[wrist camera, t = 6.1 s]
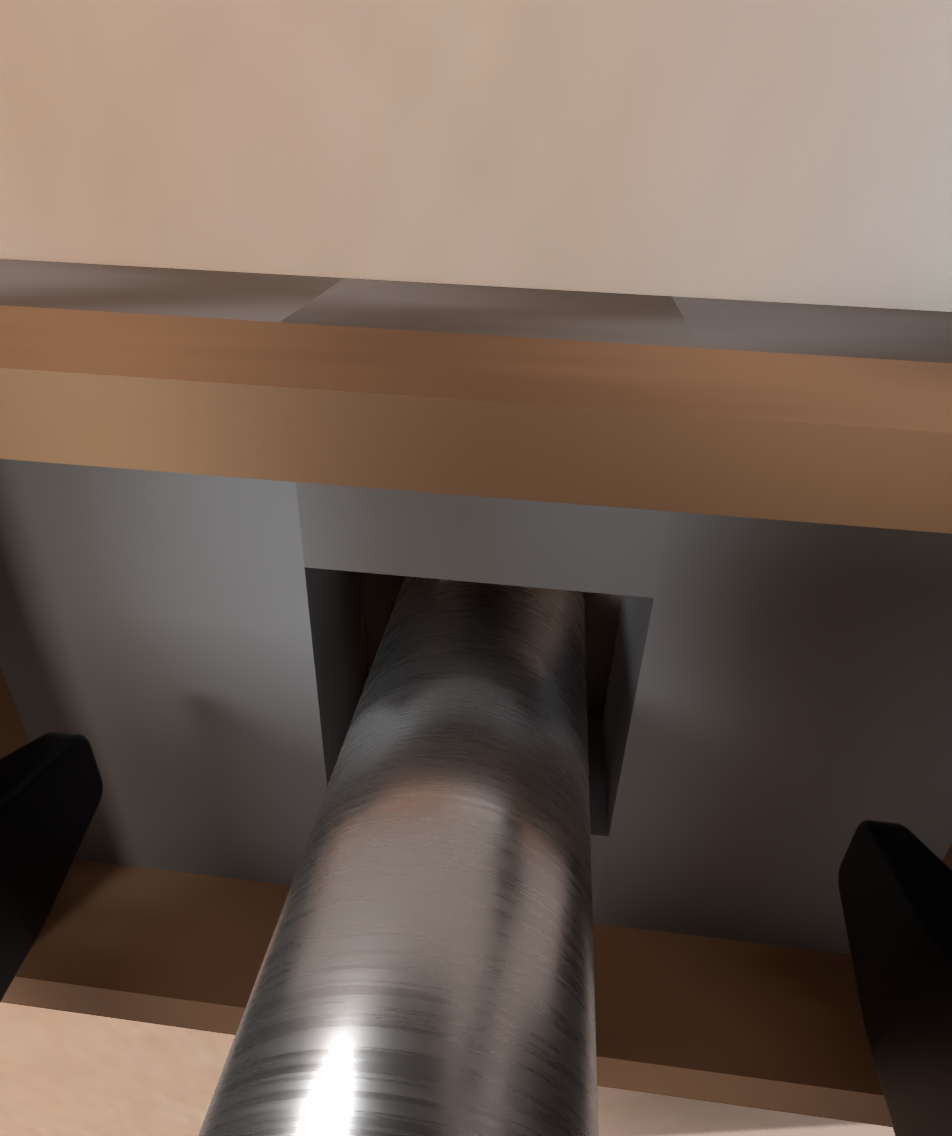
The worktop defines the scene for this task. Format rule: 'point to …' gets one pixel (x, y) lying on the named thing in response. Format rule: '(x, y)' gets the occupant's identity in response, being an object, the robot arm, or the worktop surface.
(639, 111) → the worktop surface
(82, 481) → the box
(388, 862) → the peg
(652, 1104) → the worktop surface
